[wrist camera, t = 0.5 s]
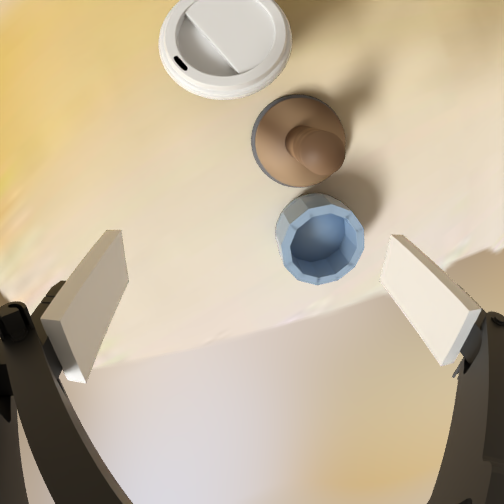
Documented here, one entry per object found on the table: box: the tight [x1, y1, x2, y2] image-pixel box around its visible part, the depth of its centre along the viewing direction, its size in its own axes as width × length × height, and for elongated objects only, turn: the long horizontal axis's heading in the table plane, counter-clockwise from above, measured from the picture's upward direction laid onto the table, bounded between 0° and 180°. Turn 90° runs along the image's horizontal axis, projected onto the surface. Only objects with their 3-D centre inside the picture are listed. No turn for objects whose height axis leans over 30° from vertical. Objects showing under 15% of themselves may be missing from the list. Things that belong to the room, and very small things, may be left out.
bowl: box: [275, 193, 364, 285], centre depth 37 cm, size 10×10×5 cm
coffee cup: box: [159, 0, 292, 100], centre depth 22 cm, size 10×10×15 cm
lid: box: [255, 98, 346, 187], centre depth 29 cm, size 10×10×9 cm
